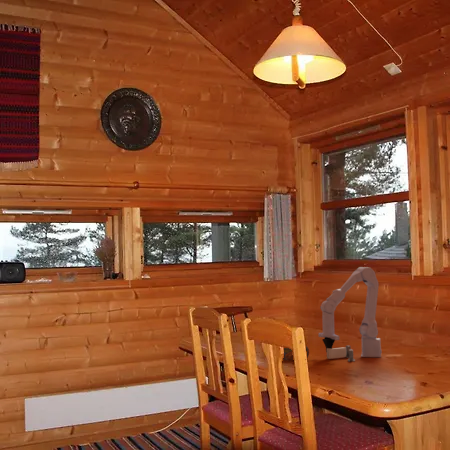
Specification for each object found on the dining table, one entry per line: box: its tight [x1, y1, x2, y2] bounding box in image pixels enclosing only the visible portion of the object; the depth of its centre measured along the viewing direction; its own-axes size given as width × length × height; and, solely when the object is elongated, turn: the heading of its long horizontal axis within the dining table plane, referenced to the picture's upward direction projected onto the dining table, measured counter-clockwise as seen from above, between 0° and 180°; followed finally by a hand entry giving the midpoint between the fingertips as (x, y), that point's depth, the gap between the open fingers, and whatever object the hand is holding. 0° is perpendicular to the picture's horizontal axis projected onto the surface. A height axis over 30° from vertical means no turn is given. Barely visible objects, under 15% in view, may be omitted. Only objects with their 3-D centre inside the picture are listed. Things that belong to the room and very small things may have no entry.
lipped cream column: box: [326, 346, 346, 360], centre depth 304 cm, size 10×2×5 cm, turn 113°
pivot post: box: [344, 344, 352, 359], centre depth 307 cm, size 4×4×6 cm
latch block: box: [347, 348, 356, 363], centre depth 297 cm, size 3×5×5 cm, turn 165°
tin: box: [282, 345, 310, 361], centre depth 302 cm, size 15×3×8 cm, turn 62°
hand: (329, 353), depth 305 cm, fingers closed
